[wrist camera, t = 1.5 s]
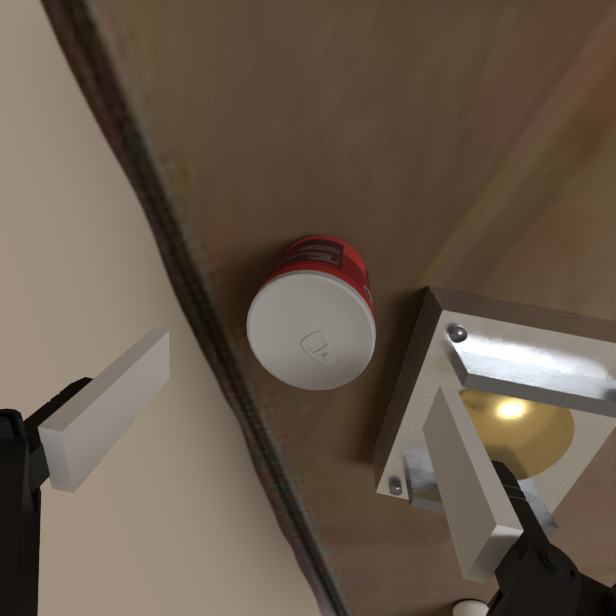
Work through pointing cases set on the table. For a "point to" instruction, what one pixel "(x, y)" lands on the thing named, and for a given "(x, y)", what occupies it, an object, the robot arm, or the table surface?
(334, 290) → the canned food
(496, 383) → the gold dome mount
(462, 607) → the drinking glass
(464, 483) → the robot arm
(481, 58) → the table surface
